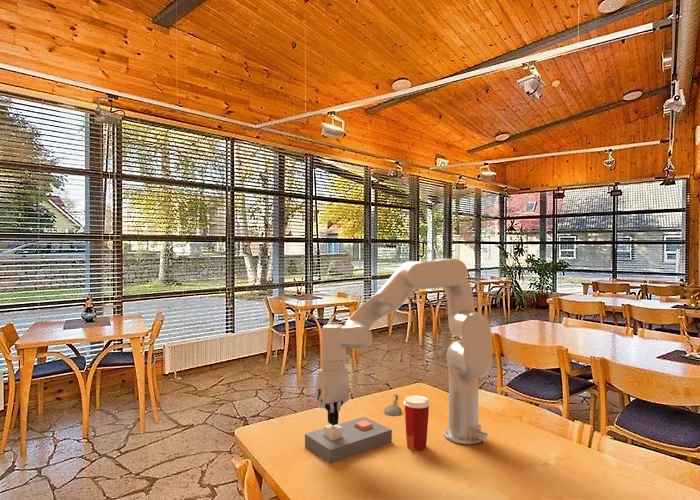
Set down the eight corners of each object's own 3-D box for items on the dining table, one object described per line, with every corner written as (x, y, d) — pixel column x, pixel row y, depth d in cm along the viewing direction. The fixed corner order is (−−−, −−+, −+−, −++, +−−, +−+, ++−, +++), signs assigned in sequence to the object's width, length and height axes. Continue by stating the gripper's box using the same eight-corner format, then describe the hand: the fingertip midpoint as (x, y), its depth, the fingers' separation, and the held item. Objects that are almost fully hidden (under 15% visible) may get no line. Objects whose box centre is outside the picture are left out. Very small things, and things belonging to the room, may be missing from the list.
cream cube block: (342, 440, 136) (342, 427, 136) (331, 444, 133) (331, 430, 133) (334, 436, 139) (334, 423, 139) (324, 439, 136) (324, 426, 136)
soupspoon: (382, 418, 164) (400, 420, 163) (383, 409, 164) (401, 411, 163) (388, 397, 186) (404, 398, 184) (388, 389, 186) (404, 391, 184)
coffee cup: (432, 444, 140) (432, 397, 140) (425, 454, 132) (426, 405, 132) (407, 439, 143) (407, 393, 143) (399, 449, 136) (399, 401, 136)
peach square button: (372, 436, 143) (372, 423, 143) (362, 440, 140) (362, 426, 140) (364, 432, 146) (364, 420, 146) (354, 435, 143) (355, 422, 144)
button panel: (391, 442, 141) (391, 429, 141) (330, 463, 127) (330, 449, 127) (364, 428, 152) (364, 416, 152) (304, 446, 138) (304, 433, 138)
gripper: (345, 358, 143) (345, 414, 143) (306, 365, 134) (305, 425, 134) (359, 363, 137) (359, 422, 137) (319, 370, 128) (319, 433, 128)
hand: (333, 423), depth 136 cm, fingers closed
